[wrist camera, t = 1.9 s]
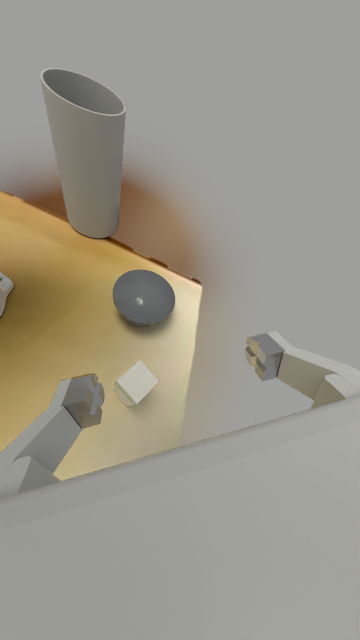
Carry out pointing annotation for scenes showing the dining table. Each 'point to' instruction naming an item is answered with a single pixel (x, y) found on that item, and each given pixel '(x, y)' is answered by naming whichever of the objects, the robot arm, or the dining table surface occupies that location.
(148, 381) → the column
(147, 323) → the pedestal
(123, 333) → the dining table surface
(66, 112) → the cylinder vase
